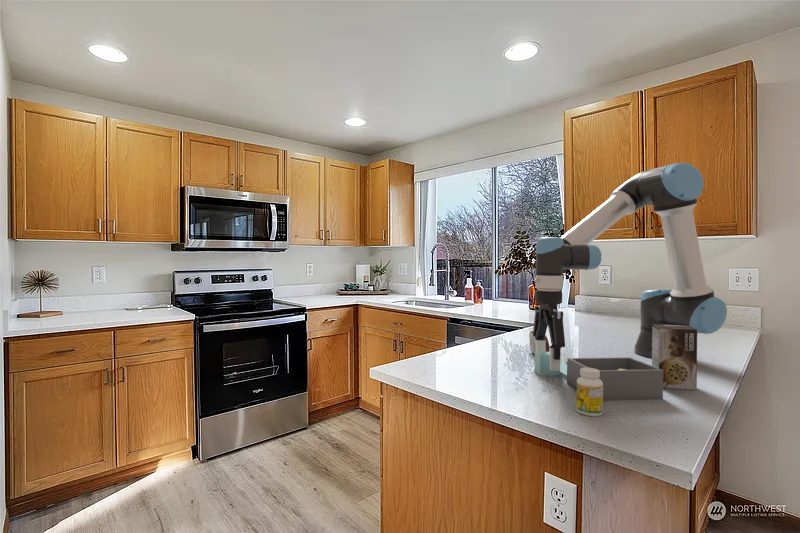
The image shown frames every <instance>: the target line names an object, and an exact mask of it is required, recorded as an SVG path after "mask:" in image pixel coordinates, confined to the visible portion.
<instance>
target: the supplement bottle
mask: <svg viewBox="0 0 800 533" xmlns="http://www.w3.org/2000/svg"><path fill="white" fill-rule="evenodd" d="M580 375H581V377H579V378H578V379H577V390H576V402H575V403H576V406H575V407H576V411H577V413H579V414H580V415H583V416H587V417H600V416H602V415H603V412H604V409H603V406H604V403H603V402H604V400H603V382H602V381H601V380H600V379H598V378H599V377H600V371H599V370H598V369H594V368H581V369H580Z"/></svg>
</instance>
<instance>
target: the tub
mask: <svg viewBox="0 0 800 533" xmlns="http://www.w3.org/2000/svg"><path fill="white" fill-rule="evenodd" d="M566 360H567V361H566V362H567V379H566V384H567V385H568V386H569V387H571V388H573V389H574V390H576V391H577V379H578V378H579V377H581V375H580V369H581V368H594V369H598V370H599V371H600V377H599V378H598V379H600V380H601V381H602V382H603V401H609V400H610V401H611V400H616V401H618V400H652V399H653V400H655V399H656V400H657V399H660V400H661V399H664V388H663V370H662V369H659V368H657V367H654V366H652V364H648V363H646V362H644V361H641V360H638V359H636V358H633V357H630V356H629V357H627V356H626V357H624V356H623V357H622V356H621V357H618V356H617V357H614V356H613V357H568V358H566Z"/></svg>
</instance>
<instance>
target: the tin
mask: <svg viewBox="0 0 800 533" xmlns="http://www.w3.org/2000/svg"><path fill="white" fill-rule="evenodd" d="M528 336H529V337H528V338H529V350H530V351H531V353H532V355H534V356H535V352H536V339H535V336H533V330H532V331H530V332H529V335H528ZM545 337H546V340H545V341H546V352H550V347H549V346H550V342H549V339H548V337H547V335H546V334H545Z"/></svg>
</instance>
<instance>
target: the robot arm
mask: <svg viewBox="0 0 800 533" xmlns="http://www.w3.org/2000/svg"><path fill="white" fill-rule="evenodd" d="M704 187H705V183H704V177H703V175H702V173H701V171H700V170H699V168H697V167H695V166H694V165H692V164H691V163H687V162H678V163H670V164H667V165H664V166H660V167H655V168H652V169H651V168H650V169H648V170H644V171H640V172H639V173H637V174H635V175H634V176H632V177H631V178H629V179H627V180H626V181H625V182H624V183H623V184H621V185H620V186H618V187H617V188H616V189H615V190H613V192H610V194H609V195H610V196H609V198H608V199H607V200H606V201H604V202H603V203H602V204H601V205H599V206H598V207H597V208H595V209H594V210H593V211H592V212H591V213H590V214H588V215H586V217H585V218H583V219H582V220H581V221H580V222H578V223H577V224H576V225H574V226H573V227H572V228H570V230H568V231H567V232H565V233H564V234H563V235H562V236H561V237H559V236H554V237H553V236H552V237H551V236H548V237H546V236H545V237H543V236H542V237H539V238H537V240H536V246H535V278H534V282H535V288H536V289H537V290H535V292H534V293H535V294H534V295H535V296H534V300H535V302H536V303H537V304H539V305H535V307H534V322H533V330H532V331H533V336H535V339H536V352H546V341H545V340H546V337H547V336H546V337H545V335H546V332H547V330H548V332H549V337H550V344H551V345H549V348H550V370H551V371H560V363H561V351H562V350H561V349H562V348H565V347H566V340H565V339H566V338H565V331H564V330H565V328H564V311H563V310H558V305H561V304H562V303H563V291H562V290H563V289H564V288H563V286H564V281H563V280H564V270H571V271H572V270H573V271H575V270H577V271H578V270H583V271H584V270H585V271H588V270H589V271H590V270H596V269H597V268H598V267H599V266H600V265H601V263H602V252H601V249H600V248H599V246H597V245H594V244H591V243H592V242H593V241H594V240H596V239H597V238H598V237H599V236H601V235H602V234H603V233H605V232H606V231H607V230H608V229H610V228H611V227H612V226H613V225H615V224H616V223H617V222H618V221H620V219H621V220H622V218H623V217H625V216H627V215H632V214H633V213H635V212H636V211H637V210H639V209H642V208H644V207H648V206H652V209H653V213H656V214H657V215H658V216H660V219H661V221H660V222H661V225H662V226H661V227H662V232H663V236H664V241H665V246H666V251H667V258H668V264H669V268H670V274H671V278H672V284H673V288H669V289H650V290H649V289H648V290H644V291H642V293H641V298H640V300H639V301H640V330H639V334H638V336H637V339H636V342H635V344H634V350H633V351H634V353H635V354H637V355H640V356H643V357H647V358H652V324H657V325H685V326H691V327H693V328H694V329H697V334H704V335H711V334H713V333H715V332H717V331H719V330H720V329H721V328H722V327H723V325H724V323H725V322H726V319H727V315H728V309H727V305H726V303H725V301H723V300H722V299H721V298H719V297H715V292H714V288H713V287H712V286H710V285H708V284H707V282H706V276H705V270H704V265H703V260H702V255H701V249H700V243H699V239H698V238H699V237H698V233H697V228H696V222H695V217H694V212H693V211H694V208H696V206H697V205H698V200H697V199H698V198H699V197H700V196H701V195H702V193H703V190H704Z"/></svg>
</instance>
